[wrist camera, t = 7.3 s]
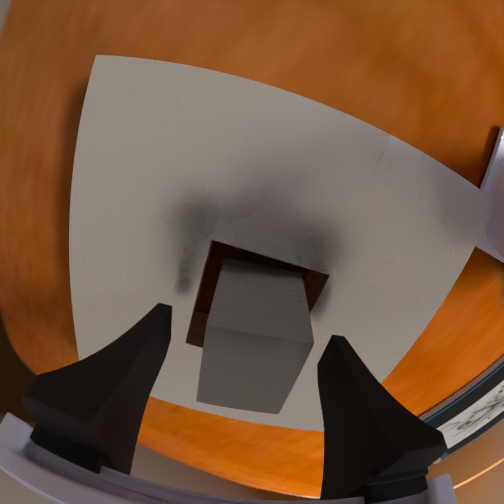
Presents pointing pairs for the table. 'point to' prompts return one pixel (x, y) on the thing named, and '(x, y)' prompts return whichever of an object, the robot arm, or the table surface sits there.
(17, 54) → the table surface
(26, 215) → the table surface
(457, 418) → the sketchbook
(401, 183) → the grey square slab
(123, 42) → the table surface
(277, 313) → the grey block
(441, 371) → the table surface
